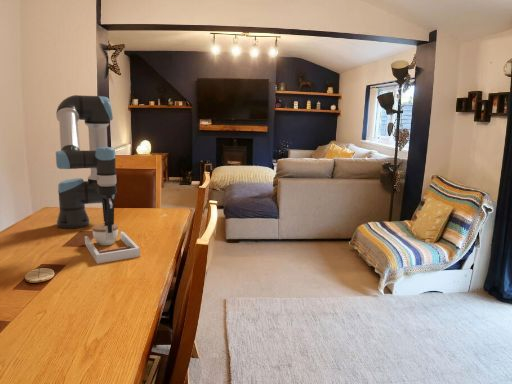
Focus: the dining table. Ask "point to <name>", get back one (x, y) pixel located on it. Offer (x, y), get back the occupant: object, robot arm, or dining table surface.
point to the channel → (115, 254)
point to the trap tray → (114, 249)
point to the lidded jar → (104, 234)
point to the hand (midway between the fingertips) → (109, 239)
